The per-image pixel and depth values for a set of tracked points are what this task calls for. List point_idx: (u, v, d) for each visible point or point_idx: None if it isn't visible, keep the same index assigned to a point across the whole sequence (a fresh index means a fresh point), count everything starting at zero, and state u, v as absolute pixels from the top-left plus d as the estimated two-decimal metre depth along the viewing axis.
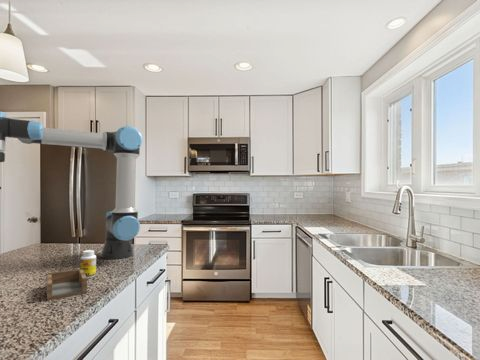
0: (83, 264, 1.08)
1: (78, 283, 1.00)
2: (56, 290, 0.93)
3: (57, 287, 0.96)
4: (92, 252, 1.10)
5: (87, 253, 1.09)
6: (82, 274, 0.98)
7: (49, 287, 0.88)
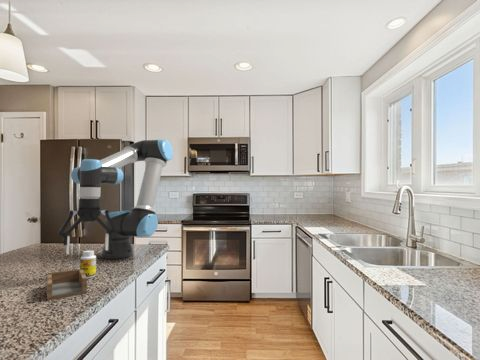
0: (83, 264, 1.08)
1: (78, 283, 1.00)
2: (56, 290, 0.93)
3: (57, 287, 0.96)
4: (92, 252, 1.10)
5: (87, 253, 1.09)
6: (82, 274, 0.98)
7: (49, 287, 0.88)
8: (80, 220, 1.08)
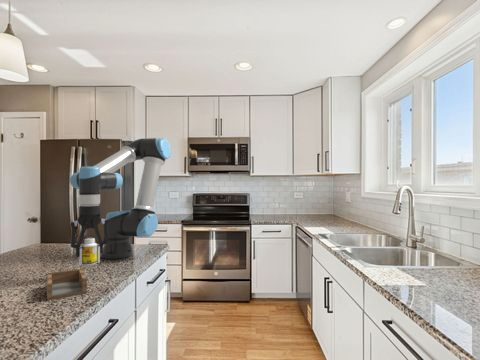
0: (85, 251, 1.09)
1: (78, 283, 1.00)
2: (56, 290, 0.93)
3: (57, 287, 0.96)
4: (93, 239, 1.11)
5: (88, 240, 1.10)
6: (82, 274, 0.98)
7: (49, 287, 0.88)
8: (84, 229, 1.09)
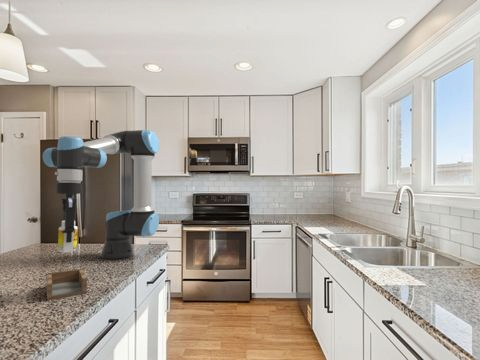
0: (75, 234, 0.95)
1: (78, 283, 1.00)
2: (56, 290, 0.93)
3: (57, 287, 0.96)
4: None
5: None
6: (82, 274, 0.98)
7: (49, 287, 0.88)
8: None
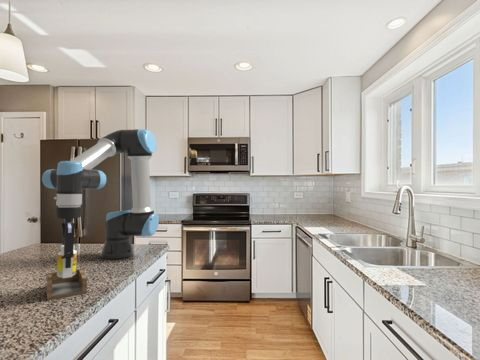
0: (74, 259, 0.95)
1: (78, 283, 1.00)
2: (56, 290, 0.93)
3: (57, 287, 0.96)
4: None
5: None
6: (82, 274, 0.98)
7: (49, 287, 0.88)
8: (74, 233, 0.95)
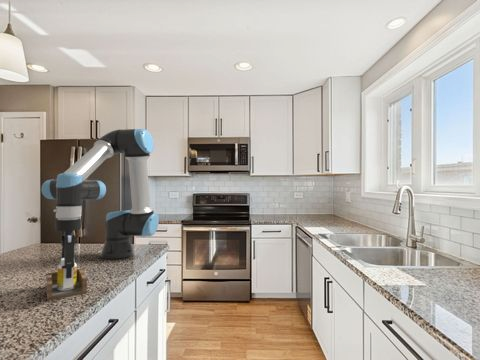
0: (74, 272, 0.95)
1: (78, 283, 1.00)
2: (56, 290, 0.93)
3: None
4: None
5: None
6: (82, 274, 0.98)
7: (49, 287, 0.88)
8: (74, 245, 0.94)
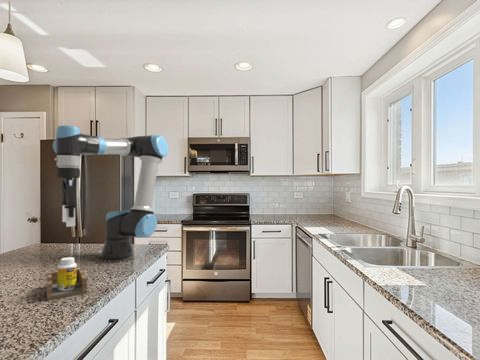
0: (74, 272, 0.95)
1: (78, 283, 1.00)
2: (56, 290, 0.93)
3: None
4: None
5: None
6: (82, 274, 0.98)
7: (49, 287, 0.88)
8: None
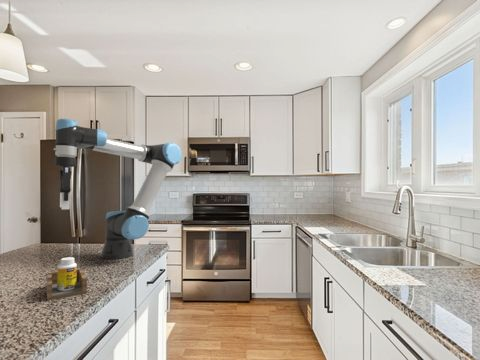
0: (74, 272, 0.95)
1: (78, 283, 1.00)
2: (56, 290, 0.93)
3: None
4: None
5: None
6: (82, 274, 0.98)
7: (49, 287, 0.88)
8: (70, 177, 1.14)
